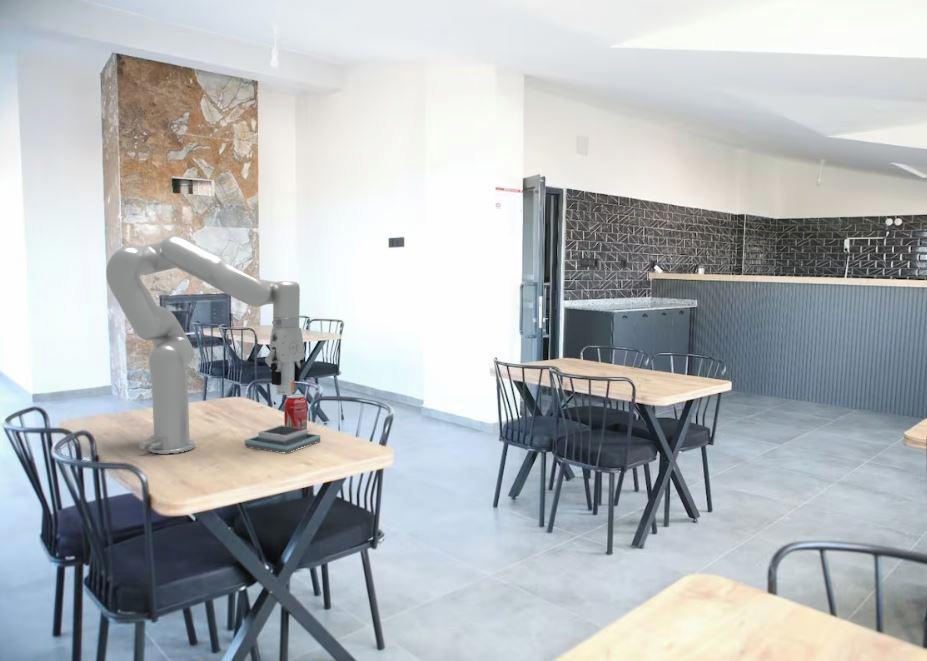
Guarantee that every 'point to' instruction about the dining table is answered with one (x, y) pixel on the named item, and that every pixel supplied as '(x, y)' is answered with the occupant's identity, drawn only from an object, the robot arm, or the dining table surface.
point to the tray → (282, 439)
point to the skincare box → (287, 378)
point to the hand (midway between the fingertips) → (285, 382)
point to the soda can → (295, 411)
